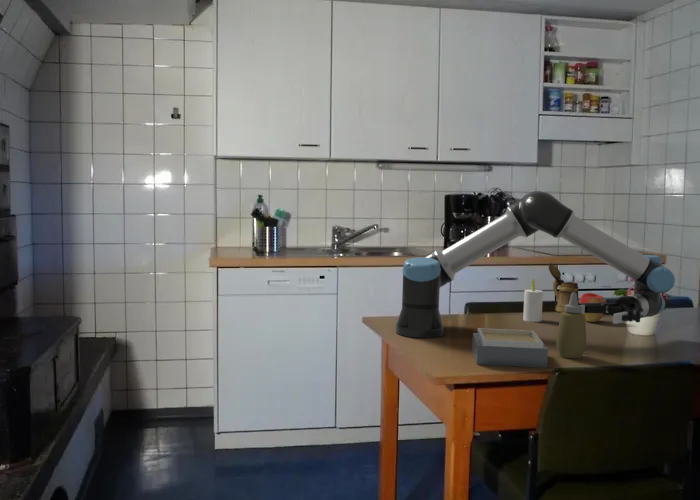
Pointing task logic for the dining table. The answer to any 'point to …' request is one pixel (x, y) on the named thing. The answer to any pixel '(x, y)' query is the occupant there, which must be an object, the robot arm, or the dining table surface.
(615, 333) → the dining table surface
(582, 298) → the apple
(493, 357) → the square box
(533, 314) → the candle
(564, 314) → the squeeze bottle
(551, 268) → the wooden mug
